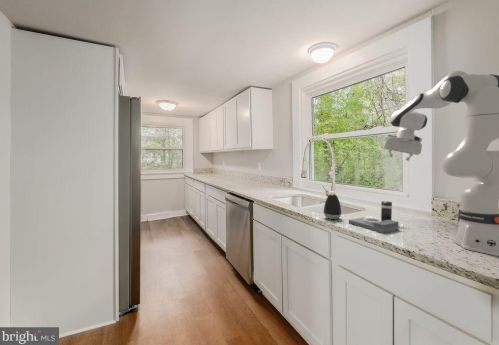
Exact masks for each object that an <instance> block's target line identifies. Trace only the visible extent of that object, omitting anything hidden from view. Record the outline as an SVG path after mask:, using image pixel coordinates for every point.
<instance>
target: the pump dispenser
mask: <svg viewBox="0 0 499 345" xmlns="http://www.w3.org/2000/svg"><path fill="white" fill-rule="evenodd" d="M323 214H324V216H325V218H326V219H328V218H329V219H328V220H330V219H336V220H338V219H340V217H341V215H342V206H341V202H340V199H339V197H338V195H336V194H335V193H331V194H328V193H326V200H325V202H324V205H323Z"/></svg>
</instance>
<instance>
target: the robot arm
mask: <svg viewBox="0 0 499 345" xmlns="http://www.w3.org/2000/svg"><path fill="white" fill-rule="evenodd" d="M452 103H455V104H459V103H465V104H466V106H467V110H466V115H465V116H466V117H465V123H464V132H463V136H462V139H461V140H460V142H459V143H458V145H457V147H455V149H454V150H452V151H451V152H449V153H447V155H445V156H444V158H443V160H442V169H443V171H444V173H446V174H447V175H448V176H451V177H456V178H461V179H463V178H465V179H466V178H468V179H469V178H470V179H472V178H474V180H473V182H472V183H471V184H470V185H469V186H467V187H466V188H463V190H461V192H460V202H459V209H458V213H457V220H458V221H457V222H458V226H457V229H456V234H455V237H454V239H453V242H454V243H455V244H456V245H459V246H461V248H463V249H464V250H469V251H472V252H478V253H482V254H487V255H491V256H495V257H499V150H488V148H489V146H490V145H491V143H492V142H494V141H496V140H497V139H499V75H497V74H492V73H490V74H476V73H475V74H474V73H472V74H471V73H470V74H468V73H467V72H466V71H463V70H456V71H451V72H450V73H449V74H447V75H446V76H445V77H443V78H441V80H440V81H438V82H436V84H435V85H434V86H433V87H431V88H430V89H429V90H427V91H425V92H422V93H419V94H417V95H415V96H414V97H413V98H411V99H410V100H409V101H408V102H406V103H404V105H402V106H401V107H400V108H398V109H396V110H394V112H393V113H391V116H390V117H389V122H390V125H392V126H393V127H397V128H399V129H398V131H397V134H396V135H392V134H387V135H386V136H385V138H384V144H383V149H384V150H388V154H389V155H388V158H393V155H394V154H393V153H392V151H394V152H398V153H399V152H400V153H403V154H404V153H405V154H409V156H408V157H406V158H405V161H410V159H411V158H412V157H414V155H415V156H419V155H421V153H422V150H423V148H422V147H423V146H422V141H423V138H421V137H420V136H417V135H415V132H416V131H420V130H423V129H424V128H425V127H426V126H427V123H428V117H427V115H426V114H424V113H421V112H418V111H416V110H418V109H442V108H444V107H447V106H449V105H450V104H452Z"/></svg>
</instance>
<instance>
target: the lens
mask: <svg viewBox="0 0 499 345" xmlns="http://www.w3.org/2000/svg"><path fill="white" fill-rule="evenodd" d="M380 206H381V209H380V210H381V212H380V213H381V214H380V220H381V221H385V220H392V219H393V218H392V214H393V211H392V210H393V202H392V201H385V200H384V201H382V200H381V205H380ZM392 221H393V220H392Z"/></svg>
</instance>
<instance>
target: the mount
mask: <svg viewBox="0 0 499 345" xmlns="http://www.w3.org/2000/svg"><path fill="white" fill-rule="evenodd" d="M349 223H351V224H350V225H353V224H354V225H353V226H356V225H357V227H360V228H364V229H367V230H371V231H375V232H377V233H380V234H381V233H382V234H386V233H390V232H395V231H398V230H399V221H396V220H385V221H381V218H380V219H379V218H375V217H363V216H362V217H357V218H351V219H348V224H349Z"/></svg>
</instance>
